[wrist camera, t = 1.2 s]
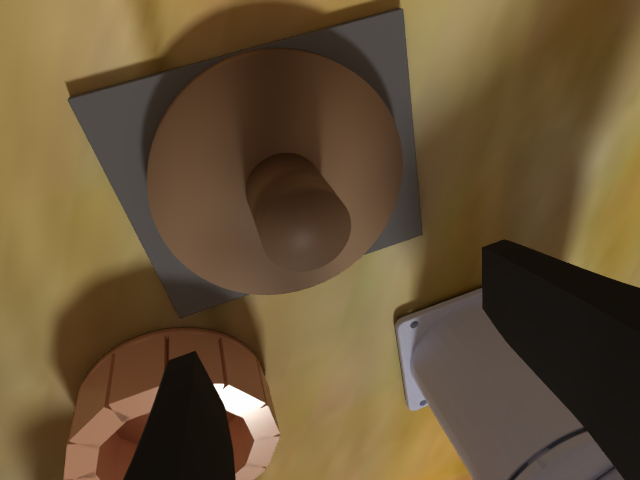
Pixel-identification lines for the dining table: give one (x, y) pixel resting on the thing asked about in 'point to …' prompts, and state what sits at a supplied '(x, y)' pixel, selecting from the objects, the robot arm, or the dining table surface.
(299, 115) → the lid
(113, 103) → the mat
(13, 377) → the dining table surface
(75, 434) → the bowl
